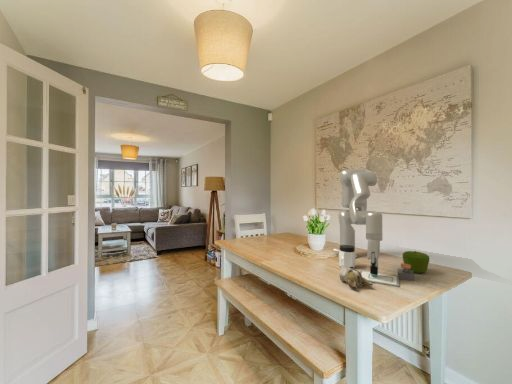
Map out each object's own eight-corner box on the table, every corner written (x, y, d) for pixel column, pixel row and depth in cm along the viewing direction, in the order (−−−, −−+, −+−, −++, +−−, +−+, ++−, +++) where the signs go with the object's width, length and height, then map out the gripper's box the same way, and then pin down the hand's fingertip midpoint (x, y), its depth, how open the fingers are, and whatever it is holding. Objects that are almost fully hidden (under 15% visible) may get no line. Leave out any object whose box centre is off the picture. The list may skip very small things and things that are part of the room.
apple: (434, 276, 125) (434, 254, 125) (408, 274, 127) (407, 253, 127) (422, 268, 137) (422, 248, 137) (399, 267, 140) (398, 247, 140)
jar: (336, 265, 144) (336, 245, 144) (347, 264, 146) (347, 244, 146) (346, 269, 135) (346, 248, 135) (358, 268, 138) (358, 247, 138)
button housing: (397, 278, 121) (397, 272, 121) (397, 274, 127) (397, 268, 128) (414, 280, 118) (414, 274, 118) (413, 276, 124) (413, 270, 124)
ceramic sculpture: (350, 260, 121) (374, 271, 107) (350, 277, 122) (373, 290, 108) (333, 263, 118) (355, 274, 104) (332, 280, 118) (354, 294, 104)
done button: (400, 274, 122) (400, 265, 122) (400, 271, 126) (400, 263, 126) (411, 275, 120) (411, 266, 120) (410, 273, 124) (410, 264, 124)
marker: (370, 276, 121) (370, 258, 121) (371, 274, 124) (370, 256, 124) (377, 277, 120) (377, 259, 120) (378, 275, 123) (378, 257, 123)
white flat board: (356, 280, 119) (356, 278, 119) (360, 271, 132) (360, 270, 132) (399, 287, 110) (399, 285, 110) (398, 277, 123) (398, 275, 123)
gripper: (367, 233, 131) (367, 267, 131) (364, 238, 117) (364, 276, 117) (383, 234, 127) (383, 269, 127) (381, 240, 113) (381, 279, 113)
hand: (374, 272), depth 122 cm, fingers closed on marker, 3 cm apart
